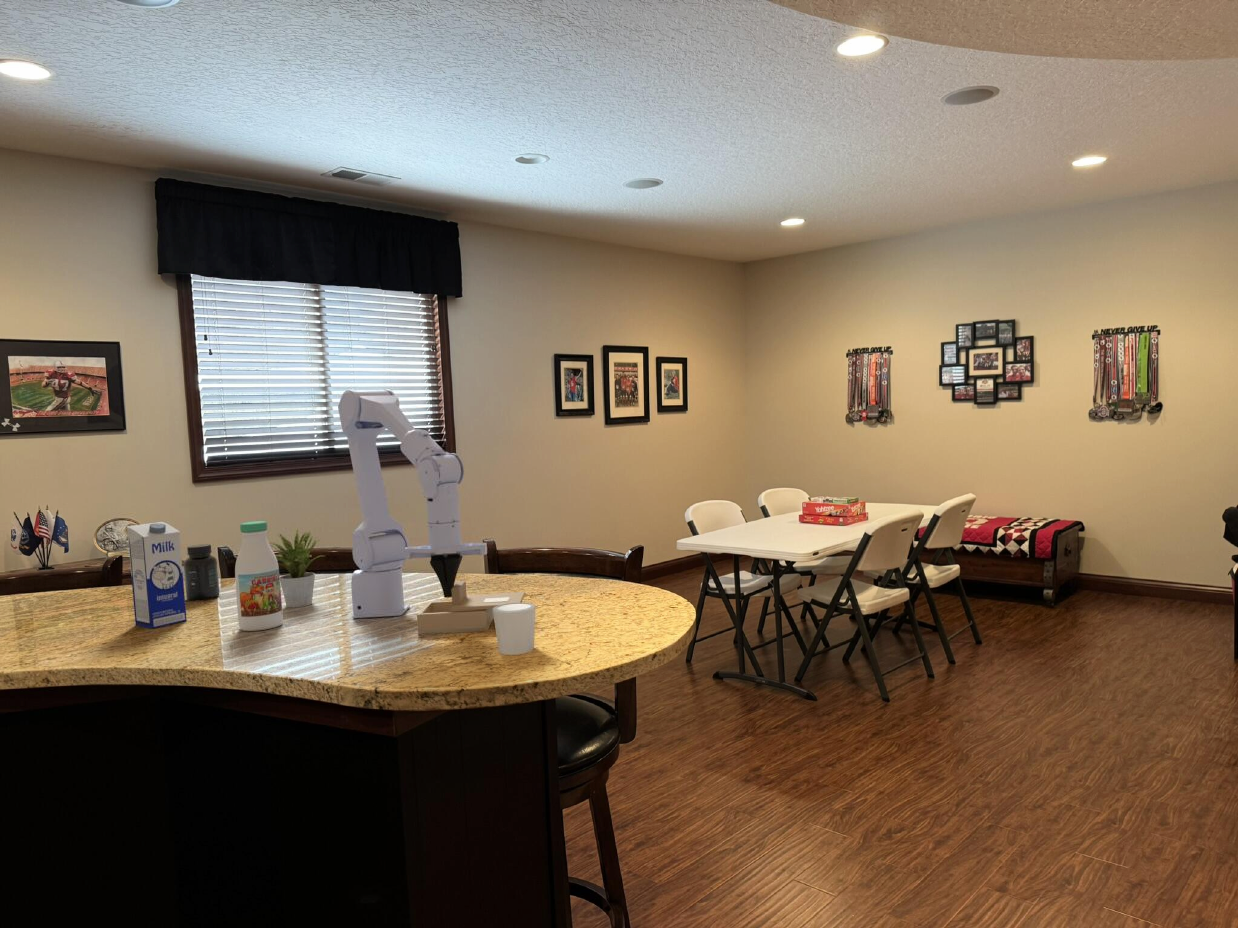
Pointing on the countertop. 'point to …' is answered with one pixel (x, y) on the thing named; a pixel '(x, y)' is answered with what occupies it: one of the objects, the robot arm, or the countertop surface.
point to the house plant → (297, 570)
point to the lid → (480, 599)
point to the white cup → (515, 627)
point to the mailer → (451, 619)
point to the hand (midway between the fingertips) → (448, 596)
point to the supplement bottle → (201, 573)
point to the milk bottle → (257, 580)
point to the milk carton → (156, 575)
